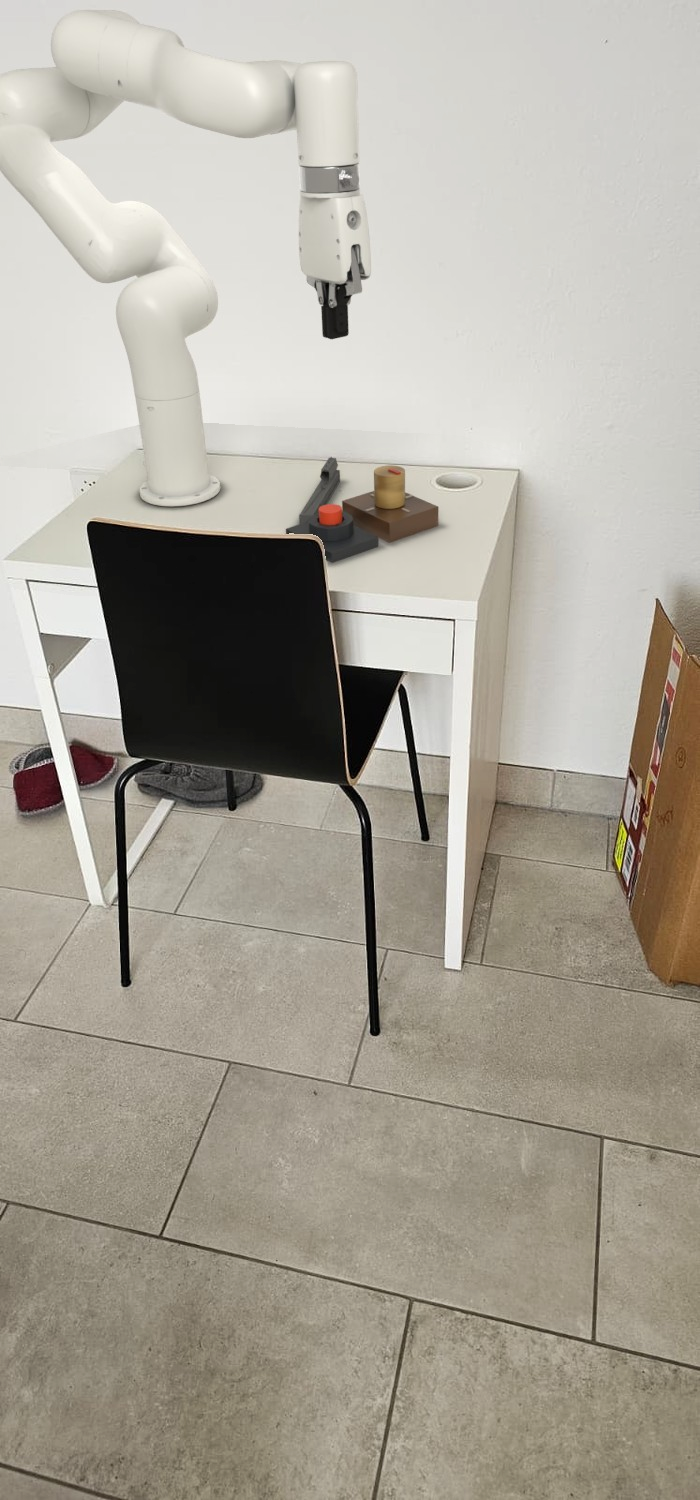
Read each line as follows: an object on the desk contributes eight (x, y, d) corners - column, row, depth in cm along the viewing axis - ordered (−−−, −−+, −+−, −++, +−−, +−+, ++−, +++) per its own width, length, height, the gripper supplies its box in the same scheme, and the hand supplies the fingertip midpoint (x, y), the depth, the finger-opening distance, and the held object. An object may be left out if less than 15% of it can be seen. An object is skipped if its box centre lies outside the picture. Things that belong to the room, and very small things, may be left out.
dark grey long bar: (317, 530, 147) (315, 502, 144) (299, 529, 147) (297, 501, 145) (344, 482, 161) (342, 456, 159) (327, 482, 162) (326, 456, 159)
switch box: (286, 538, 144) (284, 515, 142) (331, 523, 148) (330, 500, 146) (332, 563, 137) (330, 539, 135) (378, 547, 141) (378, 523, 139)
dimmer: (342, 520, 149) (341, 499, 147) (390, 504, 153) (389, 484, 151) (389, 543, 142) (389, 521, 140) (438, 526, 146) (438, 505, 144)
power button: (314, 521, 141) (314, 508, 140) (333, 515, 142) (332, 502, 141) (328, 528, 139) (327, 514, 138) (347, 522, 140) (346, 508, 139)
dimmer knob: (368, 502, 146) (367, 468, 143) (391, 495, 148) (391, 460, 145) (387, 511, 143) (387, 476, 140) (411, 503, 145) (411, 468, 142)
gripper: (391, 182, 123) (392, 341, 133) (319, 174, 133) (325, 323, 143) (341, 189, 119) (346, 351, 130) (271, 180, 129) (281, 332, 140)
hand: (335, 336), depth 136 cm, fingers closed
